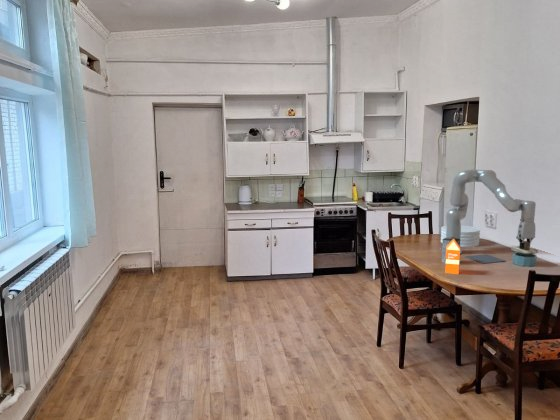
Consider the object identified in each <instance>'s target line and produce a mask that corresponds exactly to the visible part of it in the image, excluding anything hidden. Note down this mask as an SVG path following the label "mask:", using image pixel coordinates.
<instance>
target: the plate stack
mask: <svg viewBox="0 0 560 420" xmlns="http://www.w3.org/2000/svg"><path fill="white" fill-rule="evenodd" d="M446 229H447V225H444V226H441V228H440V232H441V233H440V243H441V244H443V239H444V238H446ZM480 232H481V228H479V227H476V226H471V225H463V224H461V238H460V248H461V247H463V248H470V247H471V248H472V247H478V246H479V245H480V238H481V237H480V235H481V233H480Z"/></svg>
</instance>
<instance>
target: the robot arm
mask: <svg viewBox="0 0 560 420" xmlns="http://www.w3.org/2000/svg"><path fill="white" fill-rule="evenodd" d="M472 182H473V183H475V182H476V183H477V182H478V183H482V184H483V185H484V186H485V187H486V188H487V189H489V191H490V192H491V193H492V194H493V196H494V198H496V201H498V202H499V203H500V204H501V205H502V206H503V207H504V209H506V210H507V211H508V212H510V213H515V212H518V211H520V219H519V220H520V221H519V225H518V228H517V235H516V236H515V238H516V240H518V242H519V246H518V247H519V248H521V249H524V241H525V239H526V241H527V242H530V243H532V241H533V240H534V239H535V238H536V223H535V216H536V204H537V203H536V201H533V200H524V199H519V198H515V199H514V198H513V197H512V196H511V195H510V194H509V193H508V192H507V188H506V185H505V184H504V183H503V182H502V181H501V180H500V179H499V178H498V177H497V173H496V172H495V171H494V170H492V169H467V170H463V171H461V172H458V173H457V174H456V175H455V176H454V178H453V181H452V187H451V193H450V198H449V204H450V205H451V206H452V207H453V208H451V209H449V210H448V211H447V212H446V215H445V220H446V222H445V223H446V226H447V229H446V238H451V237H454V238H458V239H460V238H461V225H462V224H461V221H462V220H464V219H465V218H466V216H467V212H468V211H467V210H468V206H469V196H468V195H467V194H466V193H465V192H466V184H467V183H472ZM439 250H440V251H442V247H439ZM462 254H463V251H462V250H461V249H460V255H462Z"/></svg>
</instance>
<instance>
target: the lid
mask: <svg viewBox="0 0 560 420" xmlns="http://www.w3.org/2000/svg"><path fill="white" fill-rule="evenodd" d="M510 250H511V251H512V252H514V253H516V252H518V253H524V254H535V255H536V254H538V252H539V251H538V249H536V248H533V247H531V242H527V240H524V249H521V248H519V246H512V247H511V249H510Z"/></svg>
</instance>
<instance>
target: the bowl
mask: <svg viewBox="0 0 560 420" xmlns="http://www.w3.org/2000/svg"><path fill="white" fill-rule="evenodd" d="M512 264H513V265H516V266H520V267H530V268H531V267H536V265H537V255H536V254H524V253H518V252H514V253H512Z"/></svg>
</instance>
